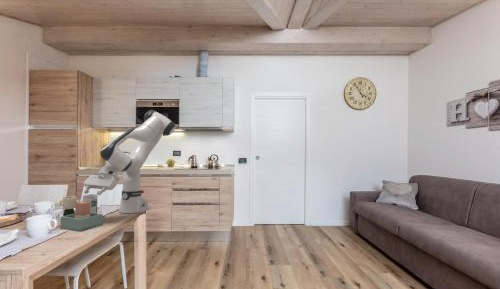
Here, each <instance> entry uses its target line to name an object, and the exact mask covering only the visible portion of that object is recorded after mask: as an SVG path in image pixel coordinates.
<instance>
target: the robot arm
mask: <svg viewBox="0 0 500 289" xmlns="http://www.w3.org/2000/svg"><path fill="white" fill-rule="evenodd" d="M143 121H144V122H143V123H142V124H141V125H140V126H139V127H132V128H129V129H127V130H126V131H125V132H124V133H122V134H121V135H119V136H118V137H117V138H115V139H114V140H113V141H112V142H109V143H108V144H106V145H104V146H103V147H102V149H101V150H100V151H99V153H100V158H101V159H103V160H104V161H106V163H105V165H104V166H102V167H101V169H100V170H99V171H98V173H94V174H91V175H90V176H89V177H87V178H86V179H85V180H84V181H83V183H82V184H83V186H84V187H85V190H84V192H83V193H84V194H85V195H88V194H90V190H91V189H97V190H98V191H97V193H96V194H97V195H98V196H102V194H103V193H105V192H106V191H112V190H114V189H115V188H116V186H117V184H119V182H120V181H121V178H120V176H119V175H118V174H117V173H118V172H119V173H122V178H123V179H122V191H121V199H120V206H119V208H118V212H119V213H122V214H137V213H138V214H140V213H144V212H146V211H149V210H151V209H152V206H150V205H149V202H148V199H147V198H146V197H144V196H143V195H142V194H144V193H145V189H144V190H143V189H142V190H141V171H140V170H141V169H142V168H143V166H144V164H145V162H146V161H147V159H148V157H149V155H150V154H151V153H152V151H153V150H154V148H155V147H156V146H157V144H158V143H159V142H160V140H161V138H162V137H165V136H170V135H171V134H173V133H174V131H175V129H176V123H175V122H173V121H172V120H171V119H170V118H168V117H167V116H165V115H164V114H161V113H159V112H157V111H156V110H154V109H149V110H147V111H146V113H145V114H144V116H143ZM128 139H132V140H135V141H137V142H136V143H135V146H134V147H133V149H132V151H131V152H130V153H128V154H127V153H125V152H123V151H122V150H121V149H120V148H119V146H120V145H122V144H123V143H124V142H126V141H127V140H128Z"/></svg>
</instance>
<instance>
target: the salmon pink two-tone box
mask: <svg viewBox="0 0 500 289" xmlns="http://www.w3.org/2000/svg"><path fill="white" fill-rule="evenodd" d="M82 201H83V200H82ZM82 201H80V202H77V203H75V208H74V210H75V218H77V219H84V218H88V217H90V202H84V201H83V202H82Z"/></svg>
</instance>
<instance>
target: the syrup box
mask: <svg viewBox="0 0 500 289" xmlns="http://www.w3.org/2000/svg"><path fill="white" fill-rule="evenodd" d="M98 197H99V195H98V194H97V193H96V194H95V193H88V194H85V195H82V201H81V202H83V201H84V202H90V213H98Z"/></svg>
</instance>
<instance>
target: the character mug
mask: <svg viewBox="0 0 500 289" xmlns="http://www.w3.org/2000/svg"><path fill="white" fill-rule="evenodd" d="M78 202H81V201H80V200H79V199H78V197H77V196H64V197H62V199H60V200H59V206H60V207H61V206H62V209H63V214H62V216H67V215H71V214H75V203H78Z"/></svg>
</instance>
